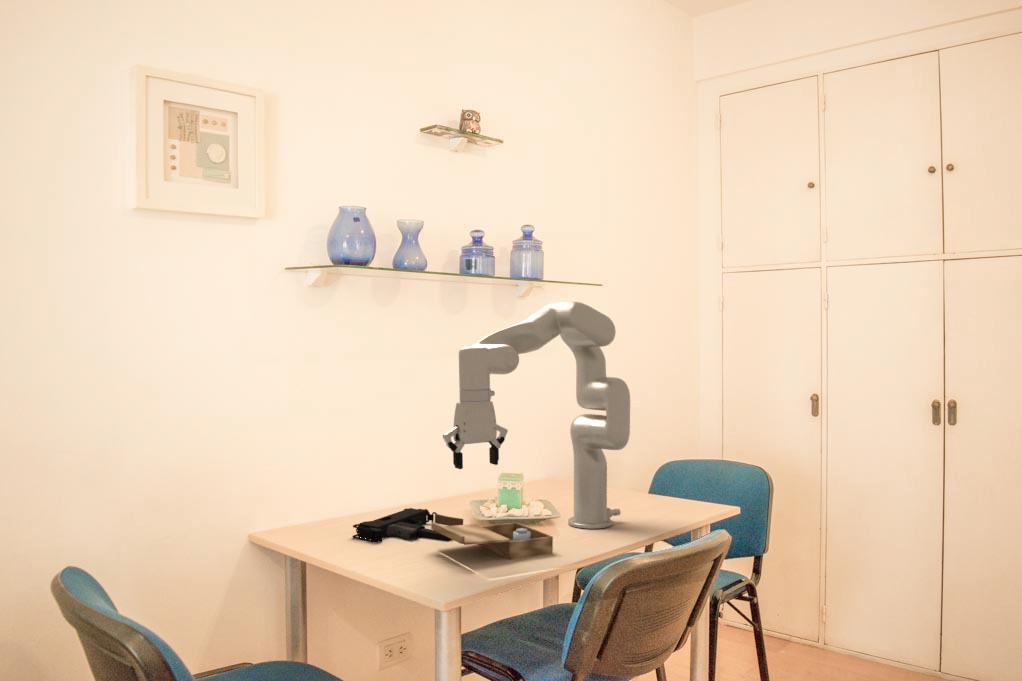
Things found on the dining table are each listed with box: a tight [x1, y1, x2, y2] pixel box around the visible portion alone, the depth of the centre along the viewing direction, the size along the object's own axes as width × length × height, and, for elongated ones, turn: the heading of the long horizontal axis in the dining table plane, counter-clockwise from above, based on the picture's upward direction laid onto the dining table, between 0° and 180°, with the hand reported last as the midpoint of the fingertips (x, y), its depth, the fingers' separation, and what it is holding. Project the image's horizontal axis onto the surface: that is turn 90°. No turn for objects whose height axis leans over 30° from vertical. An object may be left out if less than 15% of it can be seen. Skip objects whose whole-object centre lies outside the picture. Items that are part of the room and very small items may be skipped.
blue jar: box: [513, 528, 531, 541], centre depth 199 cm, size 4×4×4 cm
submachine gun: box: [352, 507, 464, 543], centre depth 214 cm, size 5×29×25 cm
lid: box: [430, 521, 510, 546], centre depth 191 cm, size 13×18×2 cm
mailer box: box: [478, 521, 554, 560], centre depth 197 cm, size 12×18×4 cm, turn 30°
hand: (476, 466), depth 193 cm, fingers open, 9 cm apart
